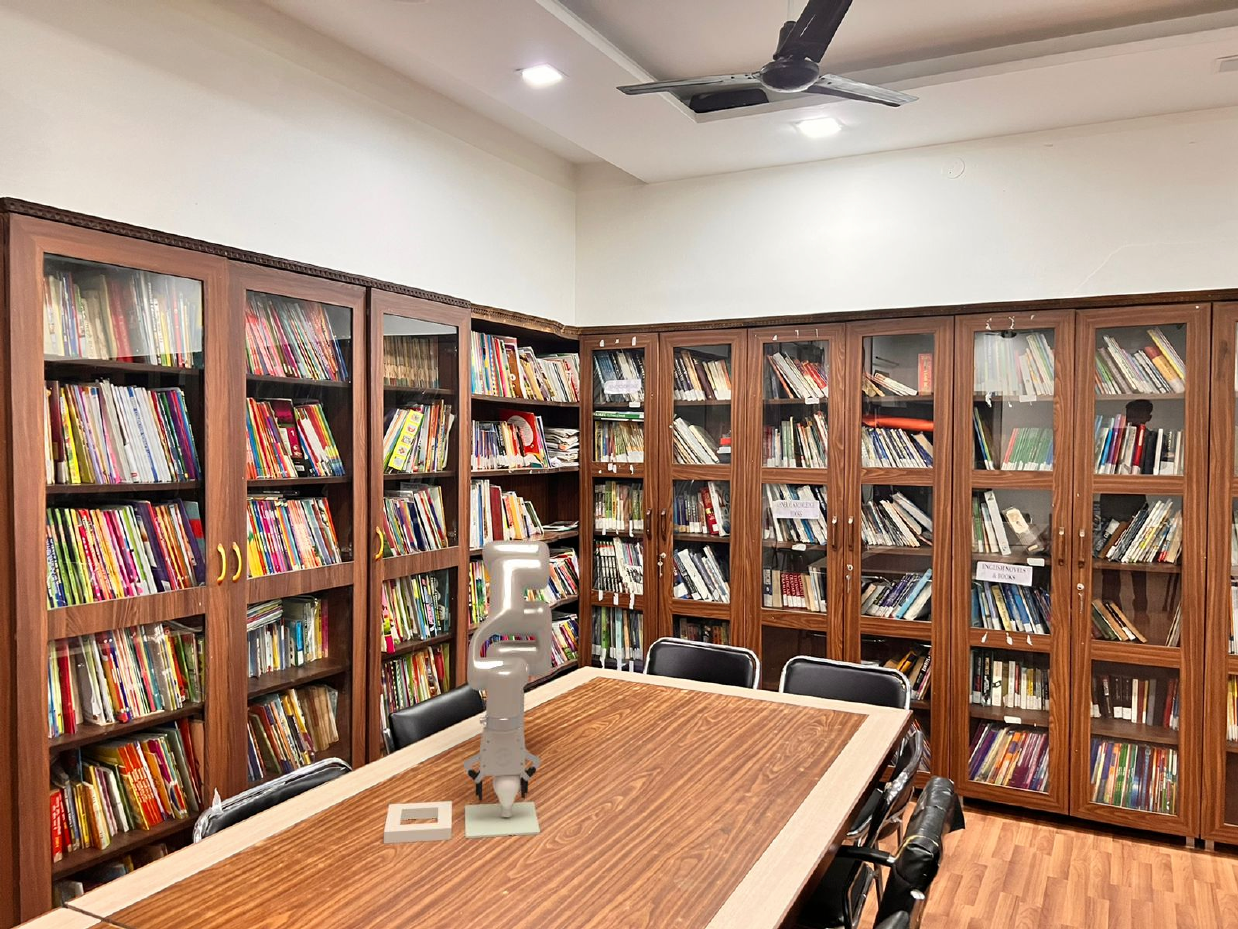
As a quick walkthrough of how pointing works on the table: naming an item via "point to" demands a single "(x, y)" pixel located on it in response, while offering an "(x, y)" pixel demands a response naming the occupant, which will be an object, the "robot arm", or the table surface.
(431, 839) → the pocket holder
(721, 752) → the table surface
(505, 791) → the lightbulb
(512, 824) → the sage mat
